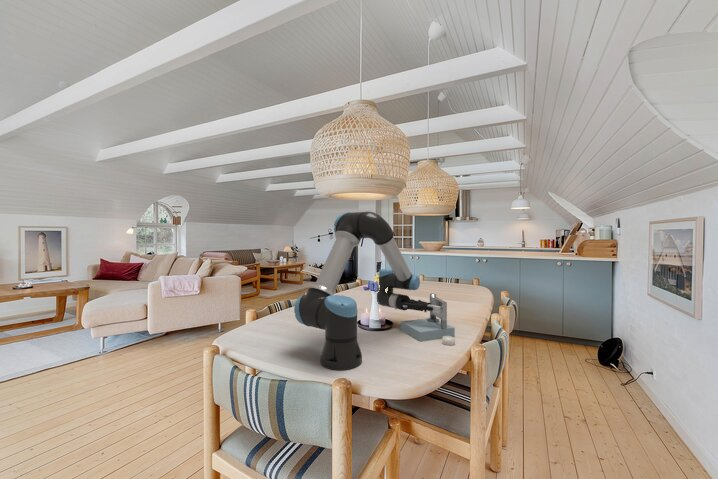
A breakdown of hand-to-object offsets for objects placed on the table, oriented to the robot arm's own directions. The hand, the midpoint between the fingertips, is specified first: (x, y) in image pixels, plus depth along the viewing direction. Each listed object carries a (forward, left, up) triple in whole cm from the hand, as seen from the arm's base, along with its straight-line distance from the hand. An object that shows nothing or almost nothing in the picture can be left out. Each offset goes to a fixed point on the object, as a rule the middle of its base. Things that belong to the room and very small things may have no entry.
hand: (440, 310), depth 138 cm
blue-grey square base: (+8, +2, -12) cm, 15 cm away
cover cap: (-7, +1, -10) cm, 12 cm away
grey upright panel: (+7, -3, -8) cm, 11 cm away
